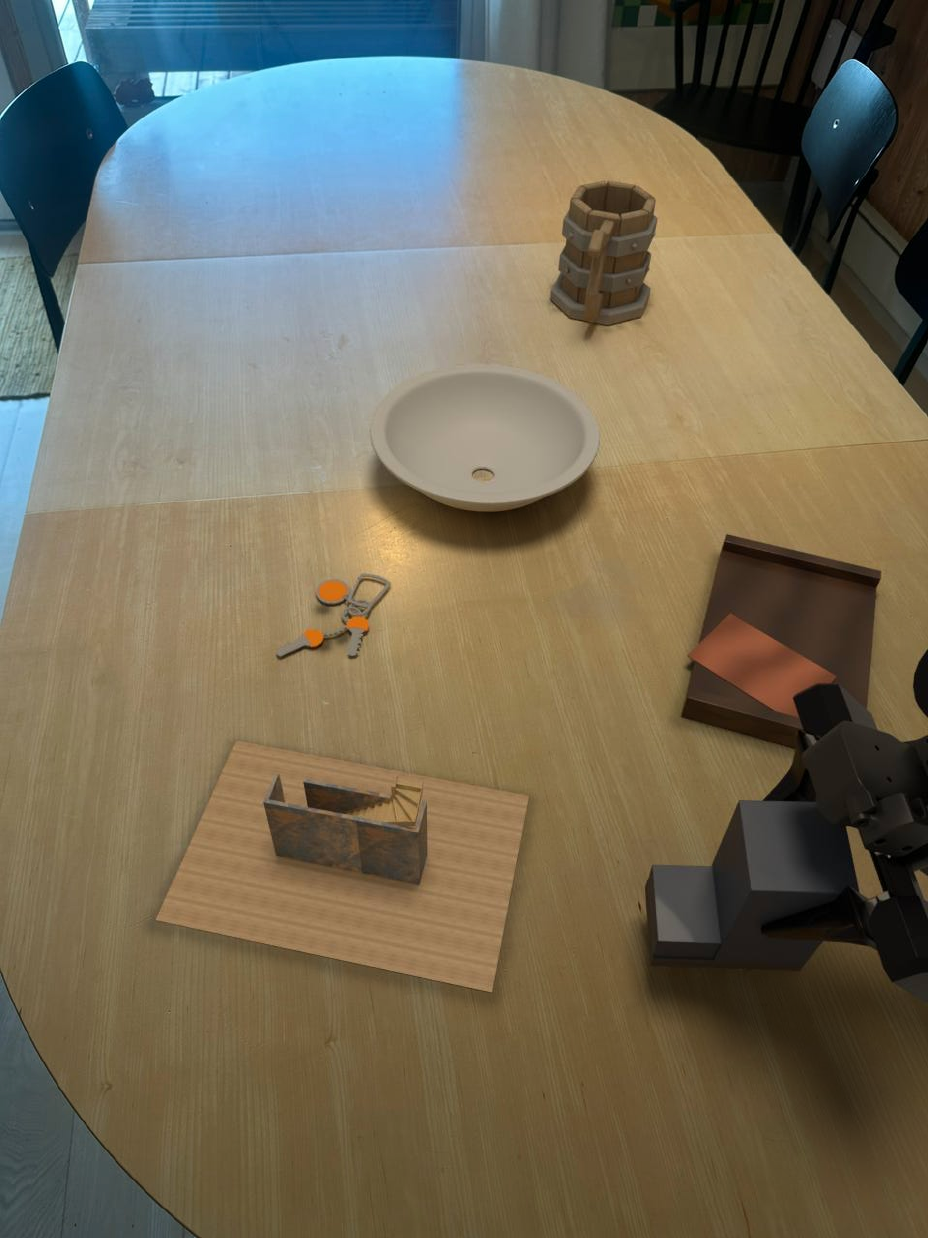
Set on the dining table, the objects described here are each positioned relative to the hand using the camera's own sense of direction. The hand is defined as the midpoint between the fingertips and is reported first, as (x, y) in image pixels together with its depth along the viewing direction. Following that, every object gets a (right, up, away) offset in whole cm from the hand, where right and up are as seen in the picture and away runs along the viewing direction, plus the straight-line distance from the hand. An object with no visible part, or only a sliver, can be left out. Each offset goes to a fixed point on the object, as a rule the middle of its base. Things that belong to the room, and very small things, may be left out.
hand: (750, 881), depth 61 cm
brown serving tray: (+12, +14, +29) cm, 34 cm away
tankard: (-1, +57, +69) cm, 90 cm away
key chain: (-30, +16, +30) cm, 45 cm away
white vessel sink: (-16, +32, +45) cm, 58 cm away
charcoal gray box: (0, -5, +6) cm, 8 cm away
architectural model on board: (-27, -2, +14) cm, 30 cm away
